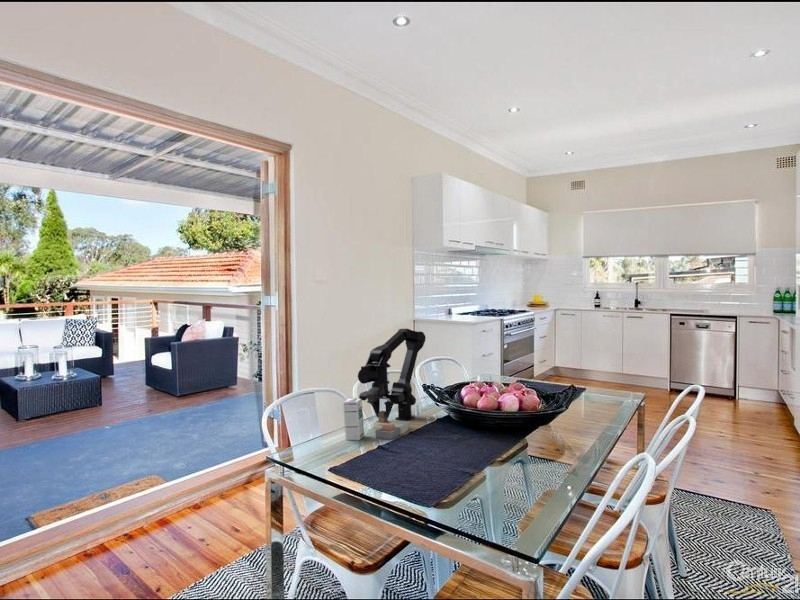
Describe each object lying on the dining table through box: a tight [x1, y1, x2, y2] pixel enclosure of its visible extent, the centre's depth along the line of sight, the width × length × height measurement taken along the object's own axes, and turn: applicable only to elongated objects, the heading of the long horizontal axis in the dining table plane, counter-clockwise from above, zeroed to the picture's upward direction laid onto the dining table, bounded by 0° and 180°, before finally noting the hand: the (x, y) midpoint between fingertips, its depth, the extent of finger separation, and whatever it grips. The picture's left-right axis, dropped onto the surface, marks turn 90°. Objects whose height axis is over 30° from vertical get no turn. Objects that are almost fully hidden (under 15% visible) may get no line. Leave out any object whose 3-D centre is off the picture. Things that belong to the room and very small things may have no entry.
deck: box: [390, 420, 410, 435], centre depth 186 cm, size 7×7×3 cm
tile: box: [382, 423, 395, 432], centre depth 181 cm, size 4×4×2 cm
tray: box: [374, 427, 402, 441], centre depth 180 cm, size 7×7×3 cm
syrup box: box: [342, 397, 365, 441], centre depth 181 cm, size 6×6×14 cm
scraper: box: [372, 410, 394, 429], centre depth 196 cm, size 6×6×6 cm
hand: (382, 417), depth 196 cm, fingers open, 4 cm apart
